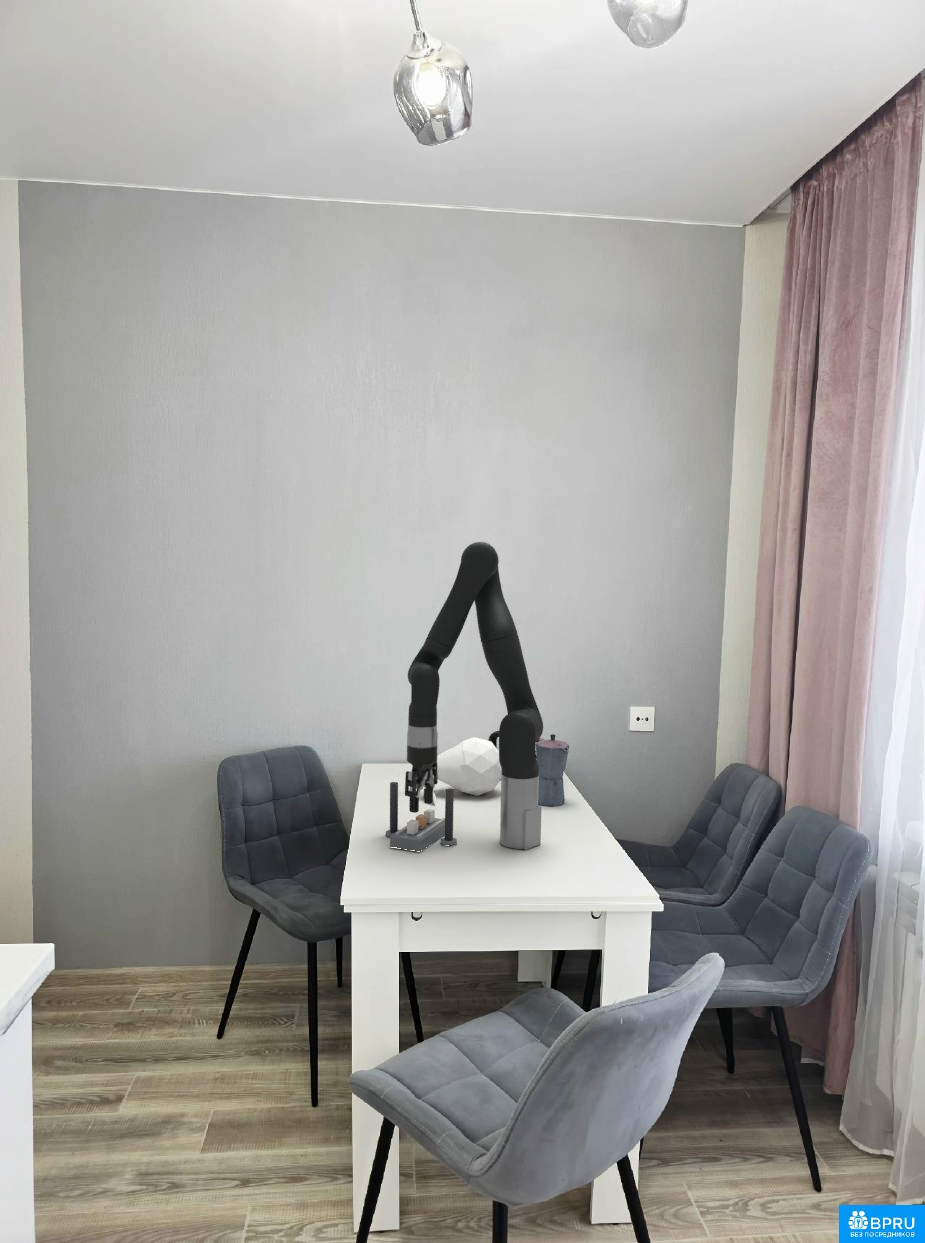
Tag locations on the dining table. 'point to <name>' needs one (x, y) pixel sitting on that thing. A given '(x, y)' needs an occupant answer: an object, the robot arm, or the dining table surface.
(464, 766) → the pear ornament
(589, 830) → the dining table surface
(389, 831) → the dark grey lever handle
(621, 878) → the dining table surface
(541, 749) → the moka pot
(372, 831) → the dining table surface
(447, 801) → the dark grey cylinder
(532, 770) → the robot arm
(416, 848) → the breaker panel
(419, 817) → the white and orange bar
